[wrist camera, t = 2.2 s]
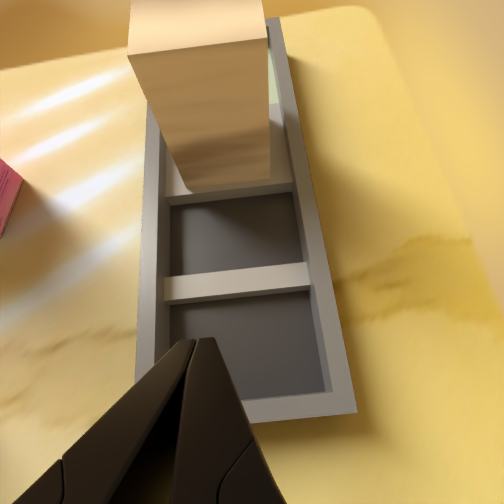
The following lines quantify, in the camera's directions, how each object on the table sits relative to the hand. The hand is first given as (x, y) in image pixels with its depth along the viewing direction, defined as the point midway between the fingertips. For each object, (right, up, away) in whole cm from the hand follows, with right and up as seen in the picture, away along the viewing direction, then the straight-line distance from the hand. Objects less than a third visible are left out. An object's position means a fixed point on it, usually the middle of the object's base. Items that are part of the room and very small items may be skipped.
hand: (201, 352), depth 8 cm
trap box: (0, +7, +16) cm, 18 cm away
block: (-1, +10, +16) cm, 19 cm away
